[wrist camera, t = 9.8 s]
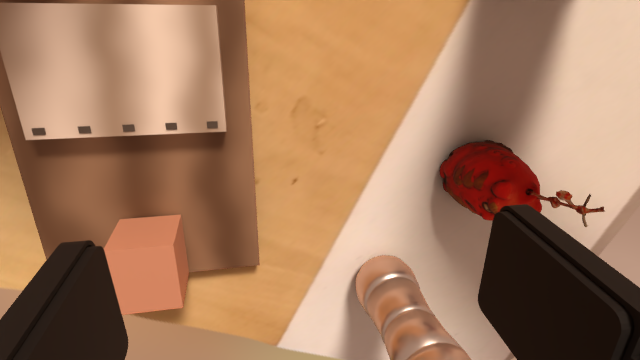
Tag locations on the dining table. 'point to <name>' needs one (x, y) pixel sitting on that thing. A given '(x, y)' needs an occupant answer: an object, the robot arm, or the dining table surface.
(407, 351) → the plastic bottle
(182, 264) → the salmon upright block
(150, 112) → the wooden base board
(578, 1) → the dining table surface
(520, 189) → the red clay folk toy
